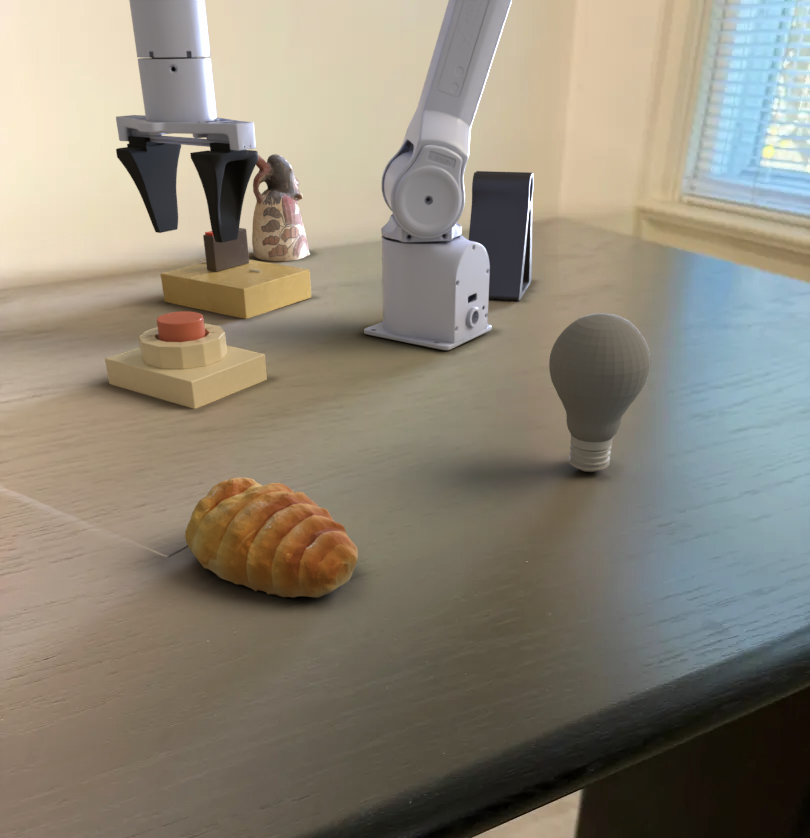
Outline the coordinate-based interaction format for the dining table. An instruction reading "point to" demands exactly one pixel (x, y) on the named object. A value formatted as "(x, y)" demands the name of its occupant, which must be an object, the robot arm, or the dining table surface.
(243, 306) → the plate
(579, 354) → the light bulb
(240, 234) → the thumb turn
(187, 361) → the block
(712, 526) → the dining table surface
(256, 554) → the pastry
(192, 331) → the bell button
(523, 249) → the phone stand
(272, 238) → the figurine
